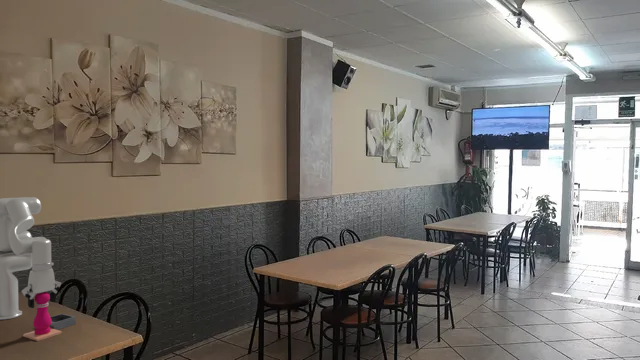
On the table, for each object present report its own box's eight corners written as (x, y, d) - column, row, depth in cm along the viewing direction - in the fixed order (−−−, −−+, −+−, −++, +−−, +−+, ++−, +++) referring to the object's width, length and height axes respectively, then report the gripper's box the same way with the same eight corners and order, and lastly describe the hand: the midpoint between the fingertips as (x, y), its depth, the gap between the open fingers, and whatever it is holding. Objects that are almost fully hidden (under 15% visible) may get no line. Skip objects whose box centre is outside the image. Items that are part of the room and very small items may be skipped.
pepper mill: (43, 336, 213) (42, 291, 212) (29, 334, 214) (28, 290, 213) (55, 330, 220) (55, 287, 219) (41, 329, 221) (41, 286, 220)
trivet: (23, 336, 215) (23, 334, 215) (47, 329, 224) (47, 327, 224) (37, 341, 209) (37, 338, 209) (61, 333, 219) (61, 331, 219)
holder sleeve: (40, 326, 228) (40, 319, 227) (62, 320, 237) (62, 313, 237) (54, 330, 222) (54, 323, 222) (75, 324, 232) (75, 316, 231)
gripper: (55, 262, 225) (56, 298, 226) (17, 269, 210) (17, 308, 211) (65, 264, 221) (65, 301, 222) (26, 271, 206) (27, 311, 207)
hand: (42, 304), depth 216 cm, fingers open, 9 cm apart
